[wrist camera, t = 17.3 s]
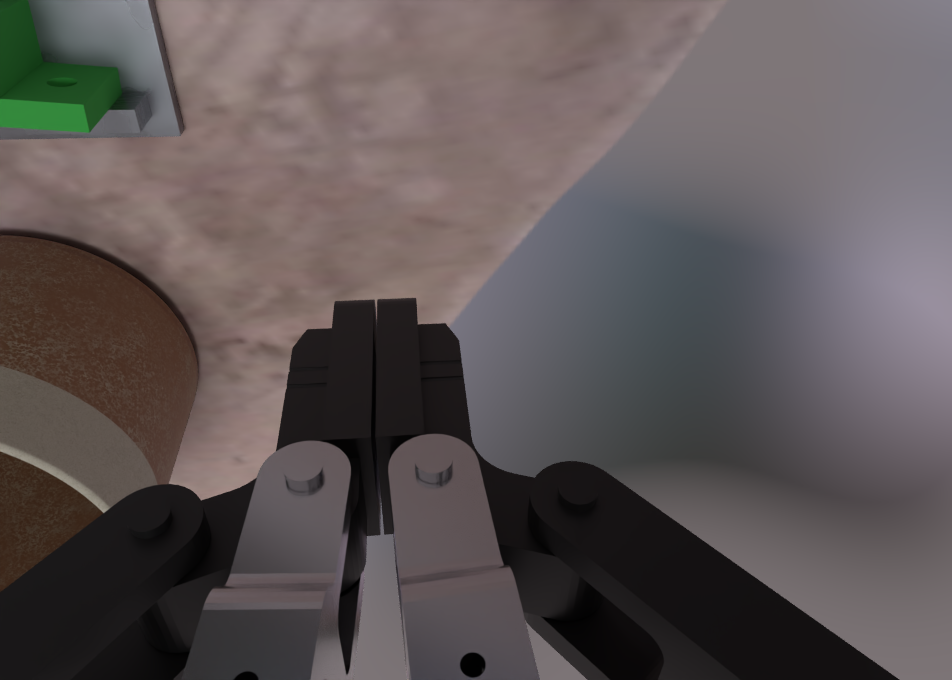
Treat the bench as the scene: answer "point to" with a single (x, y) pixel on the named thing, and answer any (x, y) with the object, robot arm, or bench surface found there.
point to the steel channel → (110, 63)
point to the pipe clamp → (47, 81)
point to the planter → (81, 394)
